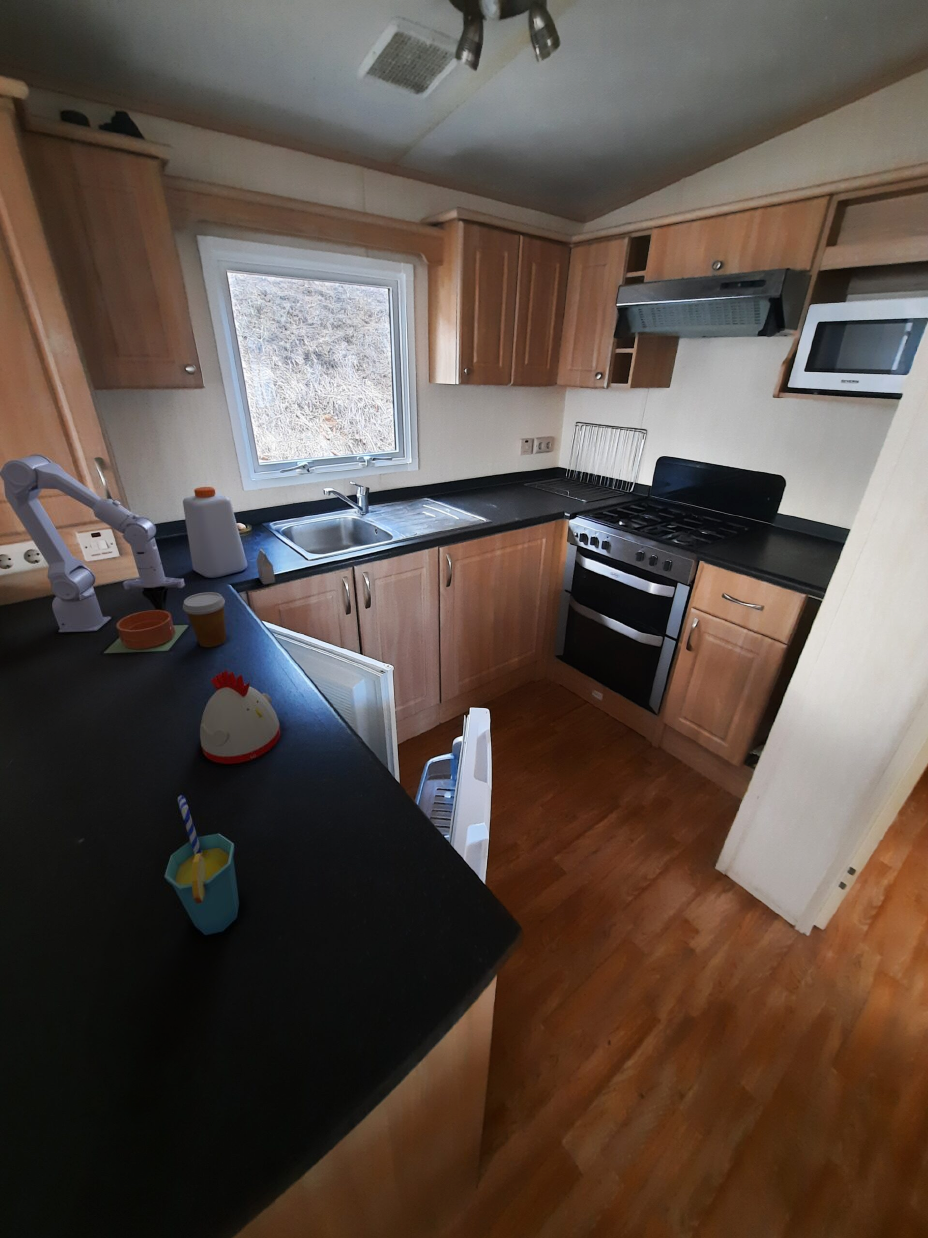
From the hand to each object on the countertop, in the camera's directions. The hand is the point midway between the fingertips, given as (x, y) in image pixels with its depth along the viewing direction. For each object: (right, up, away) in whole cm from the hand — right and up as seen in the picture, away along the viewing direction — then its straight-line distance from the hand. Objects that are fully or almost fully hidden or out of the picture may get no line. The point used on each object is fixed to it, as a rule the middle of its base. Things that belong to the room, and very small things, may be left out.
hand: (162, 611), depth 139 cm
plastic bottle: (-2, +15, +37) cm, 40 cm away
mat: (+1, -7, -8) cm, 11 cm away
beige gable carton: (+18, +11, +29) cm, 36 cm away
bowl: (+2, -7, -8) cm, 11 cm away
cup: (+51, -40, -73) cm, 97 cm away
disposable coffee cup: (+18, -8, -9) cm, 22 cm away
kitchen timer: (+41, -25, -42) cm, 64 cm away
